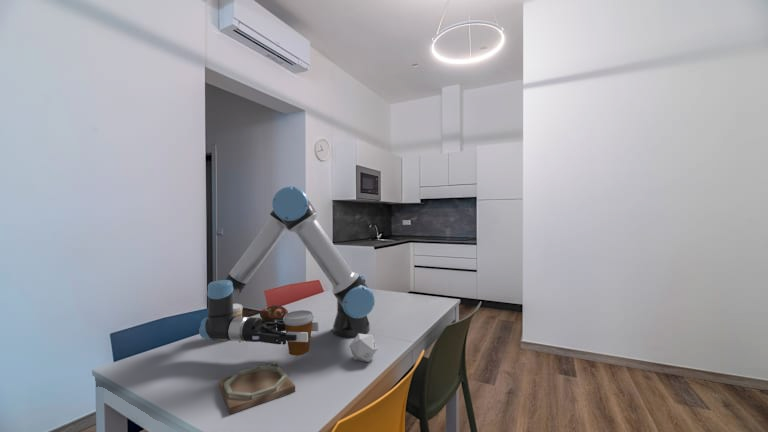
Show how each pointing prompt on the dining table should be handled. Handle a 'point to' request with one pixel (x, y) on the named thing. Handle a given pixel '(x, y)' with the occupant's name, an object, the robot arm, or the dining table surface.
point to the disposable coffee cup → (299, 330)
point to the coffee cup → (236, 312)
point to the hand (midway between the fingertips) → (312, 331)
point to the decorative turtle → (273, 313)
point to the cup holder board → (255, 387)
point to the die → (363, 347)
